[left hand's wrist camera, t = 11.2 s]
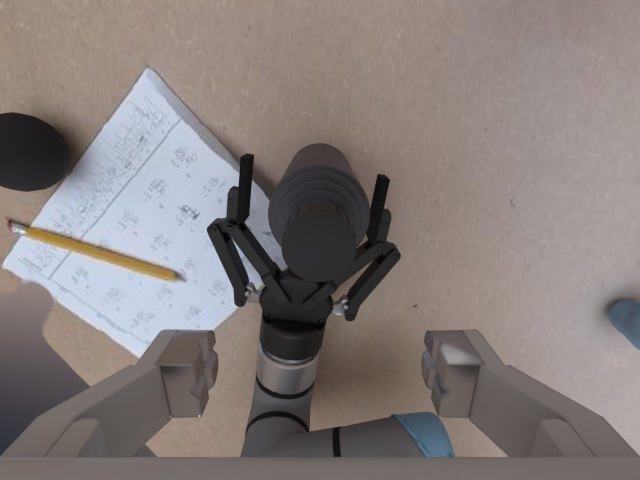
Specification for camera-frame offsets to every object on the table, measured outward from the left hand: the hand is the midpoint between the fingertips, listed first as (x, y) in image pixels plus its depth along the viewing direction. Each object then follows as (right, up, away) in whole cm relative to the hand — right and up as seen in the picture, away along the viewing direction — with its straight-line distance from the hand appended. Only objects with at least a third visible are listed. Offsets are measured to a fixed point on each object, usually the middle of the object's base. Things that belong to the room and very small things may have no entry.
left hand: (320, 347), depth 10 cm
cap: (0, +3, +8) cm, 8 cm away
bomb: (-31, +14, +29) cm, 44 cm away
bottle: (0, +11, +30) cm, 32 cm away
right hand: (0, +11, +23) cm, 25 cm away
